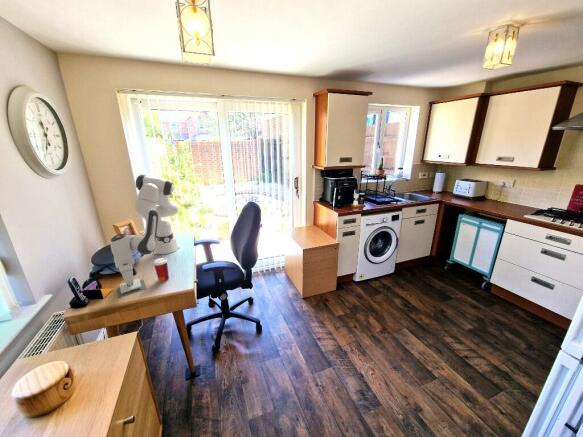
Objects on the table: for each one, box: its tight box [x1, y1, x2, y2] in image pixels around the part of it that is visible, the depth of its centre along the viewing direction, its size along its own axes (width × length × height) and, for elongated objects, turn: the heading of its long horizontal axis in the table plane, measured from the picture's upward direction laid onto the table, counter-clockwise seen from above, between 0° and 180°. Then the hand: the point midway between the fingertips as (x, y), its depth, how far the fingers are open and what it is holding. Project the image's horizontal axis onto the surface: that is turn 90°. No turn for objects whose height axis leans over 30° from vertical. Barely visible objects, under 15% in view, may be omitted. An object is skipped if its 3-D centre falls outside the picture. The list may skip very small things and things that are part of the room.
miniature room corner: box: [81, 280, 115, 301], centre depth 135 cm, size 12×12×7 cm
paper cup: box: [152, 257, 170, 283], centre depth 148 cm, size 8×8×14 cm
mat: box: [116, 278, 147, 299], centre depth 141 cm, size 14×14×1 cm
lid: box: [119, 278, 141, 293], centre depth 140 cm, size 10×10×4 cm
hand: (129, 283), depth 140 cm, fingers closed on lid, 3 cm apart
